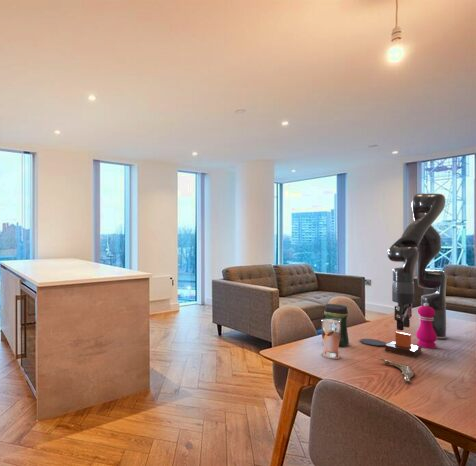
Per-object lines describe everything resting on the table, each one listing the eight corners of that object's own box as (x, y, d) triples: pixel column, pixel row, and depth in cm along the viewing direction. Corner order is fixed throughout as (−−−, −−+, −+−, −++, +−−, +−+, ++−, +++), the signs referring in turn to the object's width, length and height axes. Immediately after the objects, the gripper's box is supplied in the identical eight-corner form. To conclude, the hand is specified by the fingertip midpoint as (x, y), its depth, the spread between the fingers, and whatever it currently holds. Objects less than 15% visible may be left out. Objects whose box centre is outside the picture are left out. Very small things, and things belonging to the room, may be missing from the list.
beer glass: (338, 354, 143) (338, 319, 143) (343, 360, 136) (342, 323, 137) (319, 352, 145) (319, 318, 145) (323, 358, 139) (323, 322, 139)
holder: (392, 346, 154) (392, 340, 154) (421, 352, 146) (421, 346, 146) (385, 350, 148) (385, 345, 148) (414, 357, 140) (414, 351, 140)
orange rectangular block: (396, 349, 149) (396, 331, 149) (411, 352, 145) (410, 334, 145) (395, 350, 148) (395, 332, 148) (409, 353, 144) (409, 335, 144)
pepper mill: (441, 349, 150) (440, 304, 150) (422, 348, 151) (422, 303, 151) (430, 344, 157) (429, 301, 157) (412, 343, 158) (412, 300, 159)
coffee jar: (349, 343, 157) (349, 304, 157) (347, 348, 151) (347, 307, 151) (326, 339, 164) (326, 301, 164) (322, 343, 158) (322, 304, 158)
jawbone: (401, 365, 132) (402, 360, 132) (438, 389, 112) (438, 383, 112) (376, 361, 134) (376, 356, 134) (407, 384, 114) (407, 378, 114)
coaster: (365, 338, 165) (365, 337, 165) (389, 343, 157) (389, 342, 157) (356, 342, 159) (356, 341, 159) (382, 348, 151) (382, 346, 151)
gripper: (408, 294, 140) (409, 333, 139) (418, 291, 148) (419, 327, 148) (387, 291, 146) (387, 329, 145) (397, 289, 154) (397, 324, 154)
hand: (403, 328), depth 147 cm, fingers open, 8 cm apart
